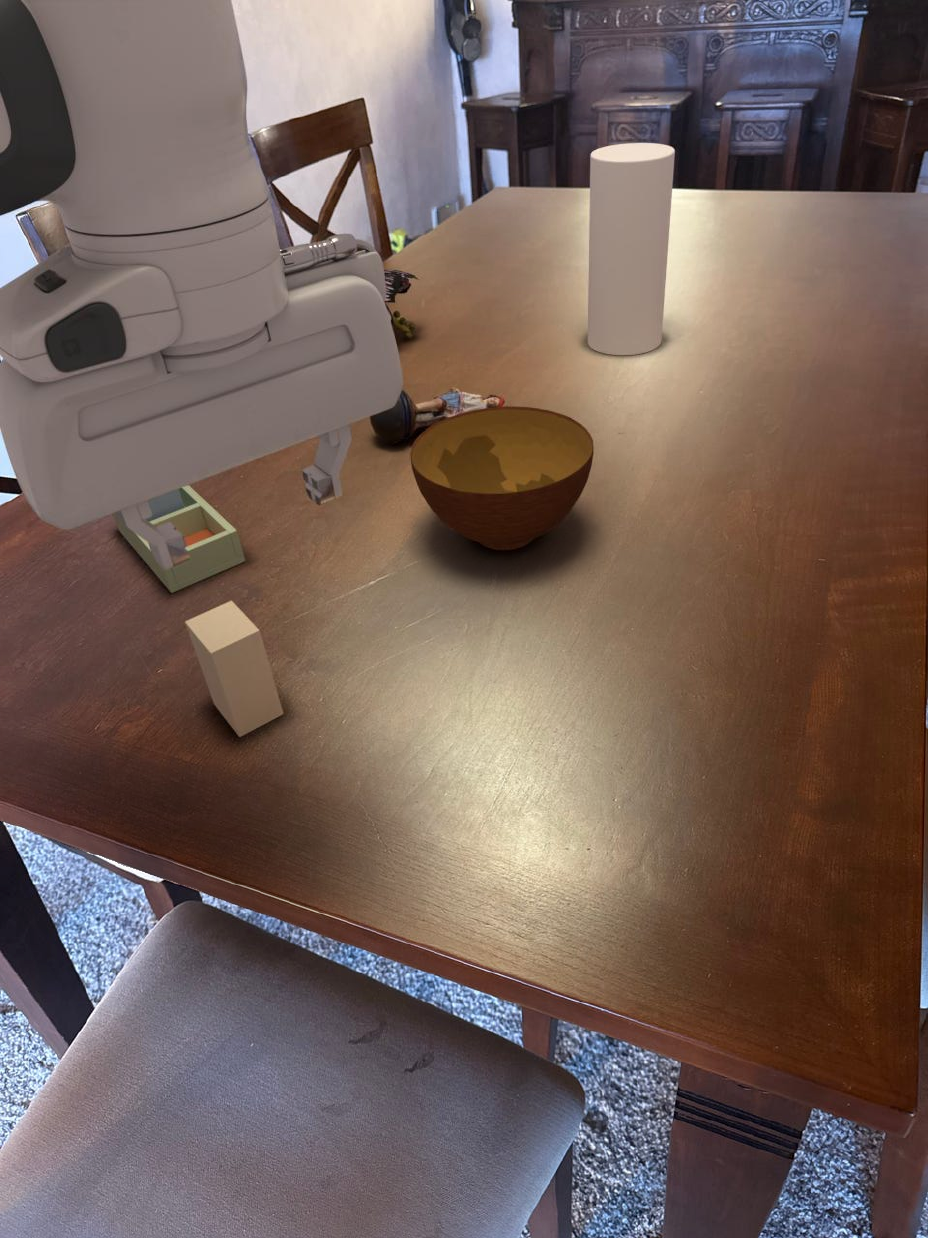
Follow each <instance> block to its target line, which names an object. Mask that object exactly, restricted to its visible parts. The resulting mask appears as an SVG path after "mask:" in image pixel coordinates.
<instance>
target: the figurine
mask: <svg viewBox="0 0 928 1238" xmlns="http://www.w3.org/2000/svg"><path fill="white" fill-rule="evenodd" d="M505 403H506V402H505V399H504V397H502V396H500V395H496V394H489V395H488V396H487V397H486V398H484V397H483V396H482V394H474V393H469V392H465V391H460V389H458V388H456V387H450V388H449V390H448V392H446V393H444V394H440V395H438V396H435V397H433V399H431V400H429V401H423V402H421V403H416V404H415V403H414V400H413V398H412V397H410V396H409V394H408V393H407V392H406V391H405V390H403V389H402V391H401V394H400V396H399V398H398V400H397V402H396V404H395V406H394V407H392V408H390V409H388V410H385V411H383V412H380V413H377V414H375V415H372V416H369V421H370V424H371V425H370V426H371V427H372V429H373V432H374V433H375V435H376V436H377V437H378V438H379V439H380V440H381V441H383V443H386V444H388V445H392V446H393V445H395V444H396V443H400V442H401V441H402V440H403V439H404V440H408V439H409V438H410V437H412V436H413V435H415V434H419V433H422V432H424V431H425V430H426V429H428V428H429V427H430V426H432V425H434V424H436V423H437V422H440V421H442V420H444V419H446V418H449V417H452V416H454V415H457V414H460V413H464V412H469V411H473V410H478V409H484V408H493V407H504V405H505Z"/></svg>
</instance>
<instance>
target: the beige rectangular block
mask: <svg viewBox="0 0 928 1238" xmlns="http://www.w3.org/2000/svg"><path fill="white" fill-rule="evenodd" d="M184 624H185V626H186V629H187V633H188V635H189V638H190V641H191V643H192V646H193V649H194V652H195V654H196V657H197V660H198V663H199V667H200V669H201V671H202V674H203V677H204V680H205V682H206V685H207V688H208V691H209V694H210V697H211V700H212V703H213V705H214V706H215V707H216V709H217V710H218V711H219V713H220V714H221V715H222V717H223V718H224V719H225V720H226V722H227V723H228V724H229V726H230V727H231V728H232V730H234V732H235V733H236V735H237V736H238V738H241V737H243V736H245V735H248V734H249V733H251V732H252V731H255V730H256V729H258V728H260V727H262V726H263V725H266V724H268V723H269V722H272V721H273V720H275V719H277V718H279V717H281V716H283V715H284V711H283V707H282V703H281V700H280V696H279V694H278V690H277V686H276V683H275V679H274V675H273V672H272V669H271V666H270V662H269V659H268V655H267V652H266V649H265V645H264V641H263V638H262V635H261V632H260V631H261V630H260V629H259V628H258V627H257V626H256V625H255V624H254V623H253V621H251V619H249V617H247V615H246V613H244V612H243V611H242V610H241V609H240V607H238V605H237V604H236V603H234V601H232V600H229V601H227V602H225V603H223V604H220V605H218V606H216V607H214V608H212V609H210V610H207V611H205V612H203V613H201V614H197V616H194V617H192V618H189V619H187V620H185V621H184Z"/></svg>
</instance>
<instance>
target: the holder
mask: <svg viewBox="0 0 928 1238" xmlns="http://www.w3.org/2000/svg"><path fill="white" fill-rule="evenodd" d="M179 492H180V495H181V498H182V501H183V504H184V507H185V508H183V509H180V510H178V511H175V512H173V513H170V514H168V515H165V516H163V517H160V518H157V519H155V520H152V521H150V523H152V524H153V525H154V526H155V527H157V526H160V525H162V524H165V523H168V522H171V523H172V524H173V525H174V526H175V529H176V530H179V532H180V533H181V534H182V535H183V537H184V540H185V543H186V548H185V549H186V550H187V551H188V552H189V556H190V560H188V561H186V562H184V563H181V564H179V565H177V566H175V567H172V568H170V569H167V570H165V571H164V570H163V569H162V568H161V567H160V565H159V564H158V563H157V562H156V560H155V558H154V556H153V554H152V552H151V550H150V547H149V544H148V542H147V541H146V540H145V539H143V538H142V537H140V536H139V535H138V534H136V533H135V532H133V531H132V530H130V529H129V528H128V527H127V526H126V525H125V524H124V523H123V522H122V521H121V520H120V518H119V517H118V516H117V515H116V514H115V513H113V514H112V516H113V519H114V522H115V524H116V527H117V529H118V532H120V534H121V535H122V536H123V538H124V539H125V540H126V541H127V542H128V543H129V544H130V546H131V547H132V548H133V550H135V552H136V553H137V554H138V556H140V557H141V559H142V560H143V561H144V562H145V563H146V564H147V566H148V567H149V569H150V570H151V571H152V572H153V573H154V574H155V575H156V577H157V578H158V579H159V580H160V582H162V584H163V585H164V586H165V587H166V589H167V590H168V591H169V592H170V593H171V594H174V593H175V592H178V591H181V590H182V589H185V588H187V587H189V586H191V585H194V584H196V583H198V582H201V581H202V580H203V581H204V580H205V579H208V578H210V577H212V576H214V575H217V574H220V573H221V572H223V571H224V572H225V571H226V570H228V569H230V568H233V567H236V566H238V565H240V564H242V563H244V562H246V559H245V554H244V550H243V546H242V543H241V540H240V537H239V533H238V530H237V529H236V528H235V527H234V526H233V525H232V524H230V523H229V522H228V521H227V519H225V518H224V517H223V516H222V515H221V514H220V513H219V512H218V511H217V510H216V509H215V508H214V507H213V506H212V505H210V504H209V503H208V502H207V501H206V500H205V499H204V498H203V497H202V496H201V495H200V494H199V493H197V491H195V489H193V488H192V487H191V485H187V486H185V487H182V488H179Z"/></svg>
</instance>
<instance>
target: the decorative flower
mask: <svg viewBox="0 0 928 1238" xmlns="http://www.w3.org/2000/svg"><path fill="white" fill-rule="evenodd" d="M384 276H385V285H386V298H385V306H386V309H387V312H388V315H389V318H390V321H391V325H392V329H393V330H394V326H395V327H396V330H397V331H398V332H403V331H404V332H406V333H405V335H404V336H405V339H407V340H411V339H412V338H413V334H412V332H411V331H414V330H415V329H416V324H415V323H414V322H411V323H409V324H408V326H406V324H407V320H406V318H405V317H401V313H400V311H399V310H395V311H393V312H392V311H391V310H390V308H389V305H388V303H391V304H392V303H394V304H395V303H396V296H397V294H398V295H399V294H401V295H403V294H407V293H408V291H409V290H410V288H411V286H412V283H411V282H410V279H415V280H418V281H420V279H419V278H418V277H417V276H416V275H414V274H412V273H409V272H406V271H402V270H398V269H384ZM398 318H399V319H398Z"/></svg>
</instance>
